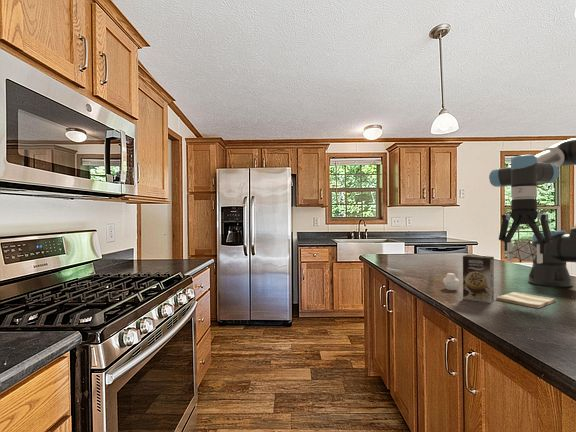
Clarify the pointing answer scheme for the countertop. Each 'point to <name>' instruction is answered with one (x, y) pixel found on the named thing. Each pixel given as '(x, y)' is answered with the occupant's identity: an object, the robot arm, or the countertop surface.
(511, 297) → the birch board
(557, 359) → the countertop surface
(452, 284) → the white knobbed ball
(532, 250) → the wireframe polyhedron
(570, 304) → the countertop surface
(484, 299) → the cookie box
